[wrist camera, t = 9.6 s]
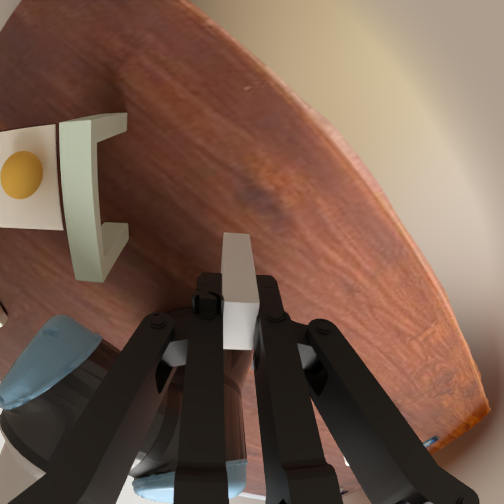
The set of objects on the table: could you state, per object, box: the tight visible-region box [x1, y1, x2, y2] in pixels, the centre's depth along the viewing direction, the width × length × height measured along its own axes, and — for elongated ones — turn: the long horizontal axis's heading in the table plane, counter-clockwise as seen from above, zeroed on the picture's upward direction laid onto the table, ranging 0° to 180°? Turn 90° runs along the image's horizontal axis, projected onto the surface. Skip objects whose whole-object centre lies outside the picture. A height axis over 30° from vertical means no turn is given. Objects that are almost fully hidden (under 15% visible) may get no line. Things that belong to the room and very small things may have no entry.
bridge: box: [59, 113, 129, 283], centre depth 26 cm, size 3×14×9 cm, turn 174°
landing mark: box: [0, 124, 64, 230], centre depth 29 cm, size 13×13×1 cm
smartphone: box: [423, 436, 439, 448], centre depth 77 cm, size 7×1×15 cm
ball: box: [0, 151, 43, 199], centre depth 26 cm, size 6×6×6 cm
